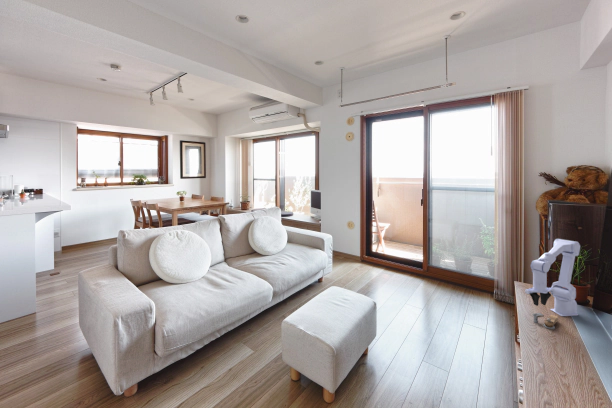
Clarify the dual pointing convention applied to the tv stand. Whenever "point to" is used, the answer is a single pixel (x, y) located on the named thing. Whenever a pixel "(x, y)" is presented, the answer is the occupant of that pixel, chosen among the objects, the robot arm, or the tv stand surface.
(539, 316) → the block
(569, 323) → the tv stand surface
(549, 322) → the link
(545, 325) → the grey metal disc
